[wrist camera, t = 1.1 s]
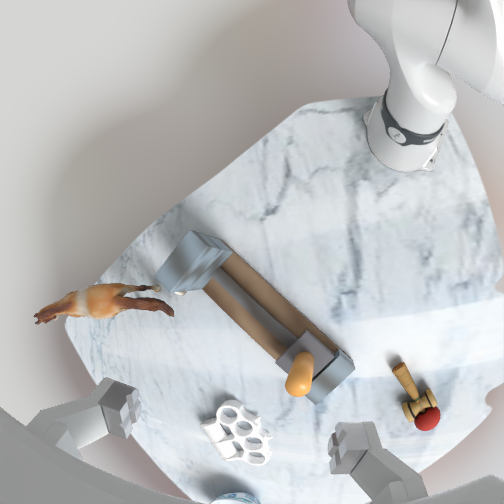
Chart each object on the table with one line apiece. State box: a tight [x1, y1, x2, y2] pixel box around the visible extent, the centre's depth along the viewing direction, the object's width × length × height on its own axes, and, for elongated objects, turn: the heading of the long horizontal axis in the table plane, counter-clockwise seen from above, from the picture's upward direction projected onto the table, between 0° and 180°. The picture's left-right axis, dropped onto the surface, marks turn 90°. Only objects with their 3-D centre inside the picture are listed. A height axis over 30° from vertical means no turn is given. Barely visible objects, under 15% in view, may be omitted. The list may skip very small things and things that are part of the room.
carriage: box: [275, 330, 334, 397], centre depth 42 cm, size 8×7×14 cm
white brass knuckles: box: [200, 400, 273, 466], centre depth 53 cm, size 3×18×15 cm
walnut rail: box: [155, 230, 355, 405], centre depth 48 cm, size 11×36×15 cm, turn 48°
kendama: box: [392, 362, 440, 431], centre depth 44 cm, size 8×6×18 cm
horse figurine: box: [34, 283, 174, 324], centre depth 53 cm, size 31×8×21 cm, turn 97°
